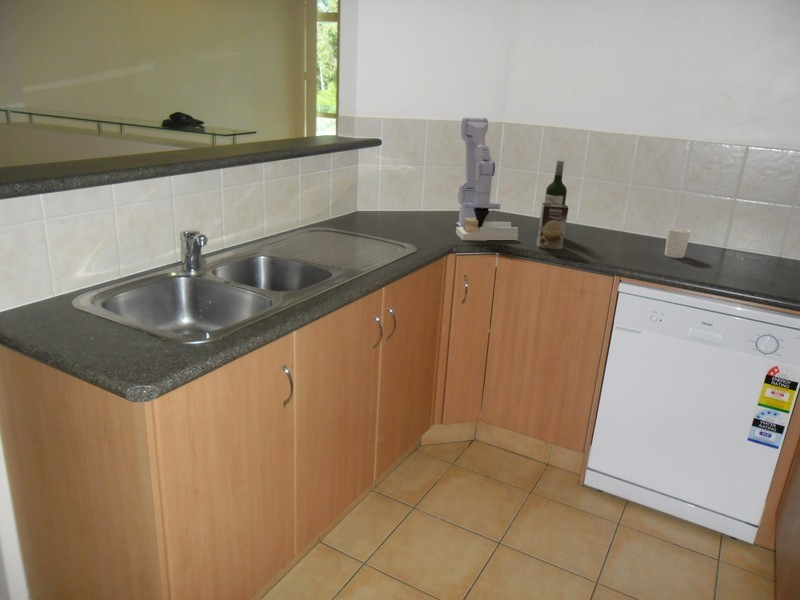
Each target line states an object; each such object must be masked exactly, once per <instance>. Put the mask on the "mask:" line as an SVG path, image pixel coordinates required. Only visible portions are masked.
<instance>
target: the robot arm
mask: <svg viewBox="0 0 800 600" xmlns="http://www.w3.org/2000/svg"><path fill="white" fill-rule="evenodd" d="M488 129H489V120H488V118H487V117H467V116H464V117H463V118H462V120H461V126H460V130H461V131H460V132H461V133H460V134H461V135H460V136H461V139H462V140H463V141H464V143H465V144H464V145H465V181H464V182H463V183H462V184H460V185H459V187H458V195H457V201H458V204H459V205H460V208H459V216H458V221H456V225H457V226H458V227H464V218H476V219H477V220H478V227H479V228H480V227H482V225H483V222H485V219H486V218H487V216H488V214H489V213H490V210H501V204H500V203H491V202H490V200H491V193H492V191H491V190H492V182H493V181H492V180H493V177H494V176H495V173H496V162H495V160H494V159H493V158H492V157H491V152H490V148H489V147H488V145H486V134H487V132H488Z"/></svg>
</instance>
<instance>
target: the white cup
mask: <svg viewBox="0 0 800 600" xmlns="http://www.w3.org/2000/svg"><path fill="white" fill-rule="evenodd" d="M691 234H692V233H691V230H690V229H688V228H683V227H675V226H673V227H672V226H671V227H668V228H667V233H666V239H665V250H664V255H665V256H666V257H668V258H672V259H673V258H674V259H683V258H684V257H685V253H686V250H687V247H688V243H689V240H690V236H691Z"/></svg>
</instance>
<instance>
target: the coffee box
mask: <svg viewBox="0 0 800 600" xmlns="http://www.w3.org/2000/svg"><path fill="white" fill-rule="evenodd" d="M541 204H542V205H541V208H540V209H541V210H540V216H539V225H538V231H537V237H536V242H535V243H536V246H537V248H539V247H541V249H549V248H550V249H549V250H551V249H553V250H561V249H563V247H564V246H563V245H564V239H565V231H566V228H567V227H566V226H567V219H568V215H569V214H568V213H569V206H568V205H566V204H565V205H563V204H552V203H545V202H542V203H541Z"/></svg>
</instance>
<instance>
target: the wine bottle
mask: <svg viewBox="0 0 800 600" xmlns="http://www.w3.org/2000/svg"><path fill="white" fill-rule="evenodd" d="M564 164H565V162H564V160H561V159H560V160H559V159H558V160H557V161H556V167H555V172H554V179H553V181H552V182H551V183H550V184H549V185H547V187H546V189H545V198H544V203H552V204H563V205H566V199H567V192H568V191H567V187H566V186H565V184H564V183H563V173H564V166H565V165H564Z"/></svg>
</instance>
